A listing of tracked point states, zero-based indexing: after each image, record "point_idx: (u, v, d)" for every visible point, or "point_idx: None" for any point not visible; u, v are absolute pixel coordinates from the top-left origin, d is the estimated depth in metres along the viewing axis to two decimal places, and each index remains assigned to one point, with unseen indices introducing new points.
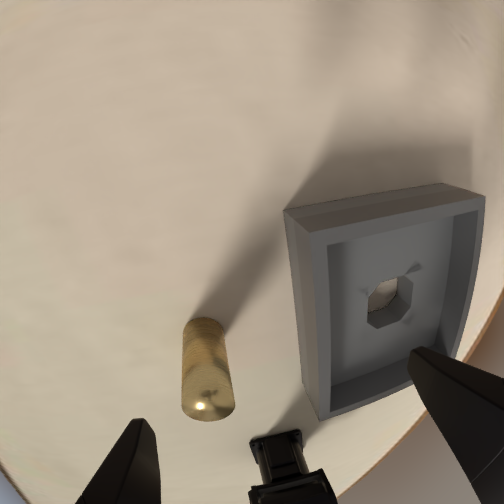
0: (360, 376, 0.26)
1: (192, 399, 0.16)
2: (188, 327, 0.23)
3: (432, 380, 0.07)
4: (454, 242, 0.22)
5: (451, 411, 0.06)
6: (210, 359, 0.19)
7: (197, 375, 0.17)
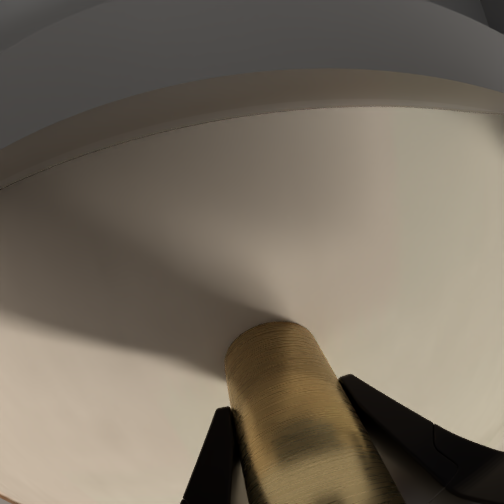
0: None
1: None
2: None
3: None
4: None
5: None
6: (250, 490, 0.05)
7: None
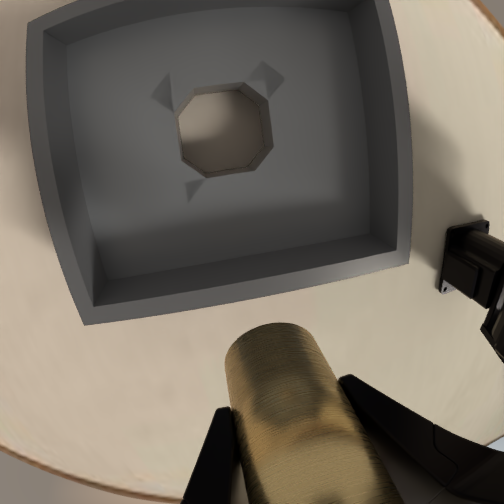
0: (368, 162, 0.16)
1: None
2: None
3: None
4: (128, 22, 0.11)
5: None
6: (250, 491, 0.05)
7: None
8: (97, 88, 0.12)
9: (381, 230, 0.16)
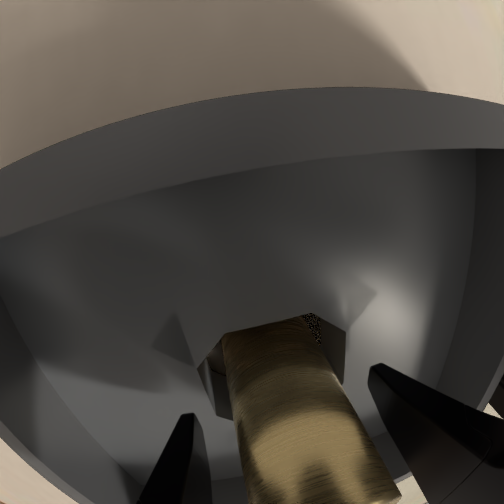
0: (447, 357, 0.11)
1: None
2: None
3: (389, 401, 0.07)
4: None
5: (409, 435, 0.06)
6: (241, 443, 0.06)
7: None
8: (55, 326, 0.07)
9: None
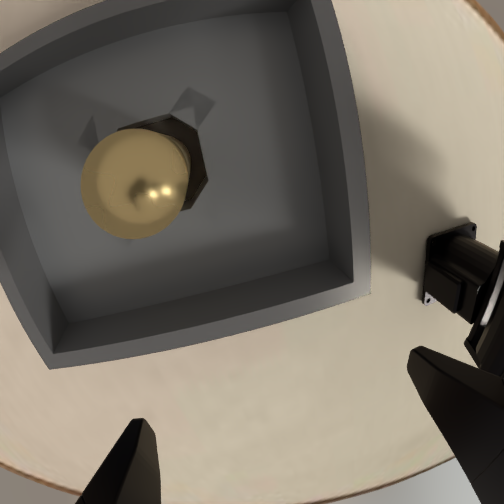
0: (321, 183, 0.15)
1: (111, 218, 0.08)
2: None
3: (432, 380, 0.07)
4: (49, 66, 0.10)
5: (451, 411, 0.06)
6: None
7: None
8: (30, 140, 0.11)
9: (338, 258, 0.15)
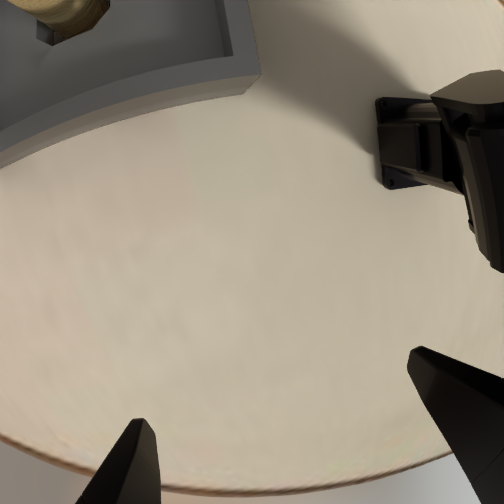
0: (215, 2, 0.11)
1: None
2: (62, 35, 0.11)
3: (432, 380, 0.07)
4: None
5: (451, 411, 0.06)
6: None
7: None
8: None
9: (227, 53, 0.11)
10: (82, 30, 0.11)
